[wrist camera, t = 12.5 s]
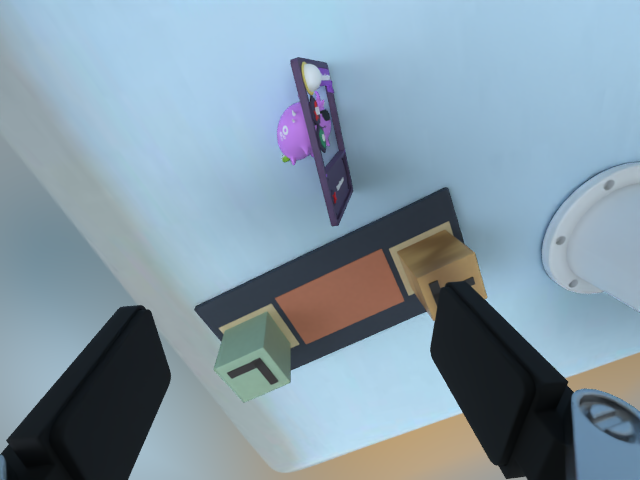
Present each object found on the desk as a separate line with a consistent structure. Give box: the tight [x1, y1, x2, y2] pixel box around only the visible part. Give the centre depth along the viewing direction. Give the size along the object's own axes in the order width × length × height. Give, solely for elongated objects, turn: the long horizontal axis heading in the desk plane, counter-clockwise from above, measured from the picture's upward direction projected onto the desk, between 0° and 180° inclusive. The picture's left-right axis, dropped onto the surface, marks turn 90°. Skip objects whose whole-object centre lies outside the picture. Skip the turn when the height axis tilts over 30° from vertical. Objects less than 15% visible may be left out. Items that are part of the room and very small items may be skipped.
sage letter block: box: [214, 312, 291, 403], centre depth 26 cm, size 4×4×5 cm
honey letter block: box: [397, 230, 487, 321], centre depth 24 cm, size 4×4×5 cm
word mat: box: [194, 188, 465, 370], centre depth 27 cm, size 24×11×1 cm, turn 116°
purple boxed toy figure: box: [277, 57, 353, 226], centre depth 19 cm, size 7×5×9 cm
